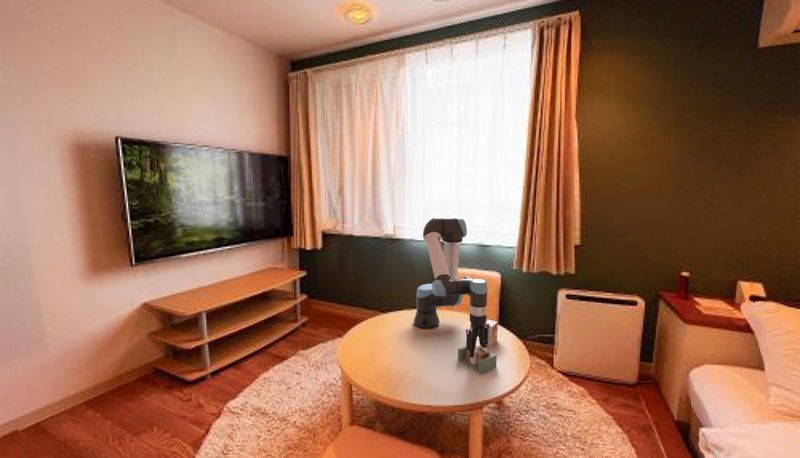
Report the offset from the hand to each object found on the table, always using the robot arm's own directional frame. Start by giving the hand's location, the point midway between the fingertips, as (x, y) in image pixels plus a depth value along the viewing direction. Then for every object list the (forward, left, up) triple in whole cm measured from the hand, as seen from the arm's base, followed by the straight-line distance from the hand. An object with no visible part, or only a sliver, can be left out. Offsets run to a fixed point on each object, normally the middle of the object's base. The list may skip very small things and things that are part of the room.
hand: (477, 361), depth 153 cm
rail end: (0, 0, 0) cm, 0 cm away
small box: (-11, +21, -1) cm, 24 cm away
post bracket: (0, 0, -1) cm, 1 cm away
